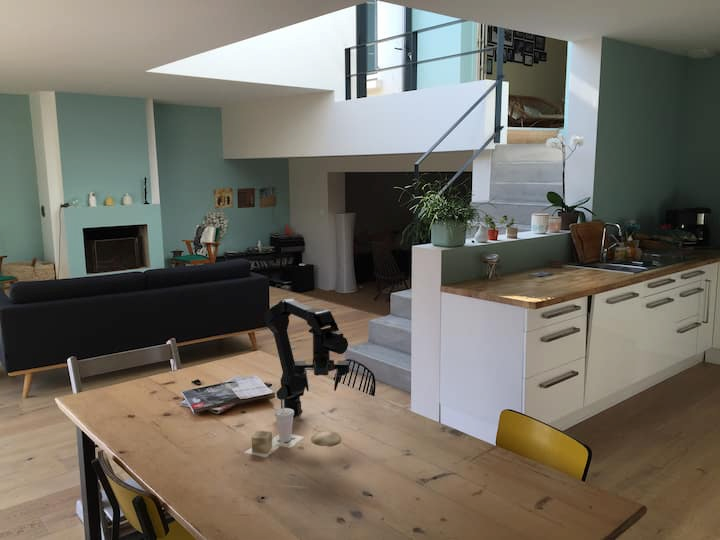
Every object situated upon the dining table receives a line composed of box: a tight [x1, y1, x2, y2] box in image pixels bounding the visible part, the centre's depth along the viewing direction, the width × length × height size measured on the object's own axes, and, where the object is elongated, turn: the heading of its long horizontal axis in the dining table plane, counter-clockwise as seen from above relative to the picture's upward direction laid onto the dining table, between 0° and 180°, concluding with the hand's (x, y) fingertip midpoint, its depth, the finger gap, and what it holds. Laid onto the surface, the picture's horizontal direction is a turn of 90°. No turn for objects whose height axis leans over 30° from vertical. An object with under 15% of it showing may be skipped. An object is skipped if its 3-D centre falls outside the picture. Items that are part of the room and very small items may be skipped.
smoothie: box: [274, 399, 294, 442], centre depth 196 cm, size 6×6×14 cm
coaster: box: [310, 431, 342, 447], centre depth 198 cm, size 10×10×1 cm
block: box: [251, 430, 273, 454], centre depth 190 cm, size 5×5×5 cm
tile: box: [244, 444, 280, 458], centre depth 190 cm, size 8×8×1 cm
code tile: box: [272, 433, 305, 449], centre depth 197 cm, size 9×9×1 cm
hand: (321, 391), depth 205 cm, fingers open, 9 cm apart
